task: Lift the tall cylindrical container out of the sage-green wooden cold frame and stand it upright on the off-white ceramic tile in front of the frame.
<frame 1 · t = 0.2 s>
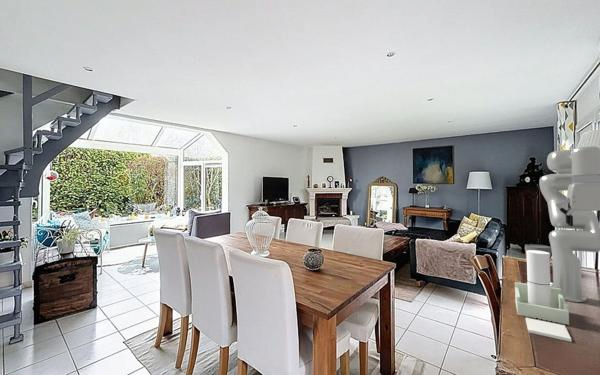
hand: (588, 226, 99), 37 cm above the table, tool pointing down, fingers open, 9 cm apart
tile: (546, 330, 97), on the table
cold frame: (539, 312, 110), on the table
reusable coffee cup: (538, 270, 167), on the table
cylindrical container: (539, 313, 110), resting in cold frame
onion: (528, 298, 125), on the table
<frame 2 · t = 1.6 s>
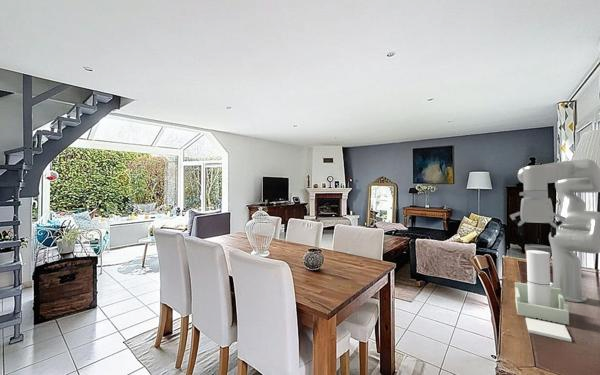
hand: (536, 236, 111), 32 cm above the table, tool pointing down, fingers open, 9 cm apart
nothing on the table moved.
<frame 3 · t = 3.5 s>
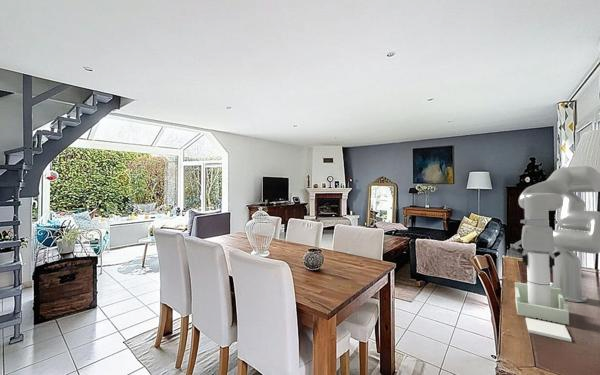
hand: (538, 265, 111), 19 cm above the table, tool pointing down, fingers closed on cylindrical container, 7 cm apart
cylindrical container: (539, 313, 110), resting in cold frame, touching gripper
everything else where it was.
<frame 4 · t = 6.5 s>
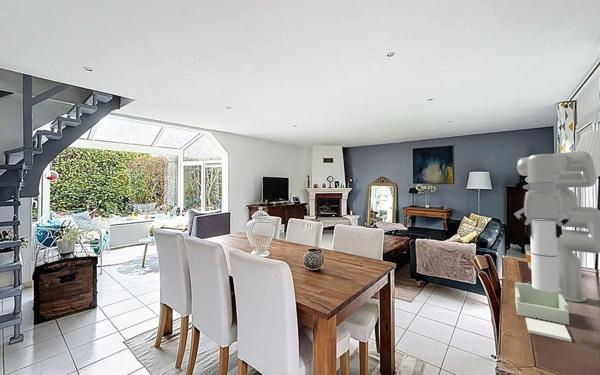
hand: (543, 235, 98), 34 cm above the table, tool pointing down, fingers closed on cylindrical container, 7 cm apart
cylindrical container: (544, 289, 98), point 15 cm above the table, touching gripper
everything else where it was.
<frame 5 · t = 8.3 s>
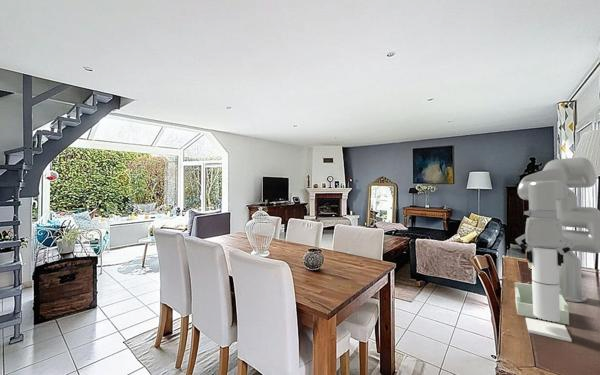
hand: (544, 263, 97), 24 cm above the table, tool pointing down, fingers closed on cylindrical container, 7 cm apart
cylindrical container: (546, 317, 97), point 5 cm above the table, touching gripper
everything else where it was.
when the fingers open (21 cm above the table, at t = 9.5 s): cylindrical container stays where it is, resting on tile.
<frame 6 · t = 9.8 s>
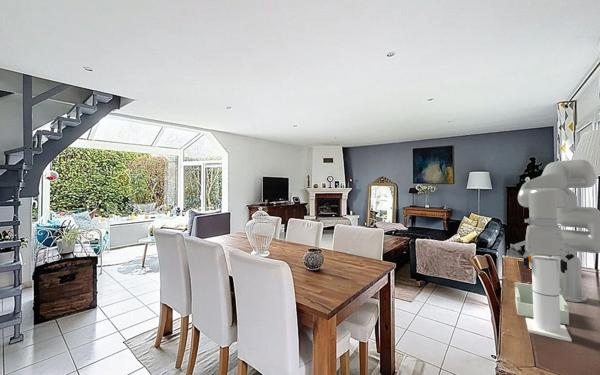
hand: (544, 270, 97), 22 cm above the table, tool pointing down, fingers open, 9 cm apart
cylindrical container: (546, 327, 97), point 1 cm above the table, touching tile
everything else where it was.
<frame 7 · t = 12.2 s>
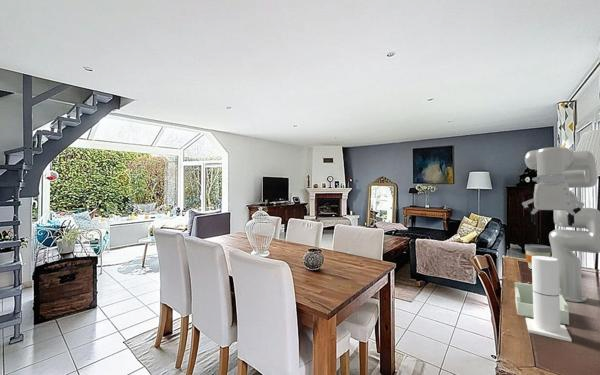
hand: (552, 224, 102), 38 cm above the table, tool pointing down, fingers open, 9 cm apart
nothing on the table moved.
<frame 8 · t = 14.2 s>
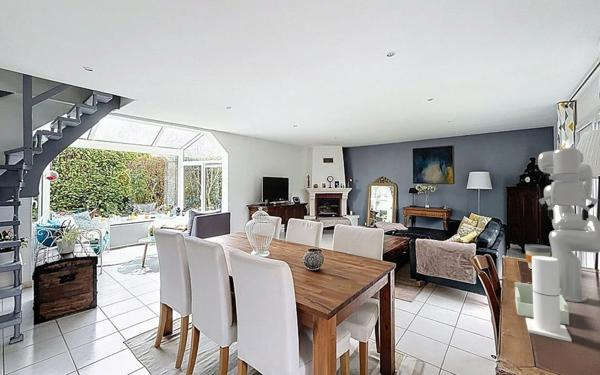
hand: (567, 219, 110), 38 cm above the table, tool pointing down, fingers open, 9 cm apart
nothing on the table moved.
at the end: cylindrical container 0.4 cm off-centre on the tile, point 0.8 cm above the tile's base; cylindrical container tilted 0°; the gripper is holding nothing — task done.
